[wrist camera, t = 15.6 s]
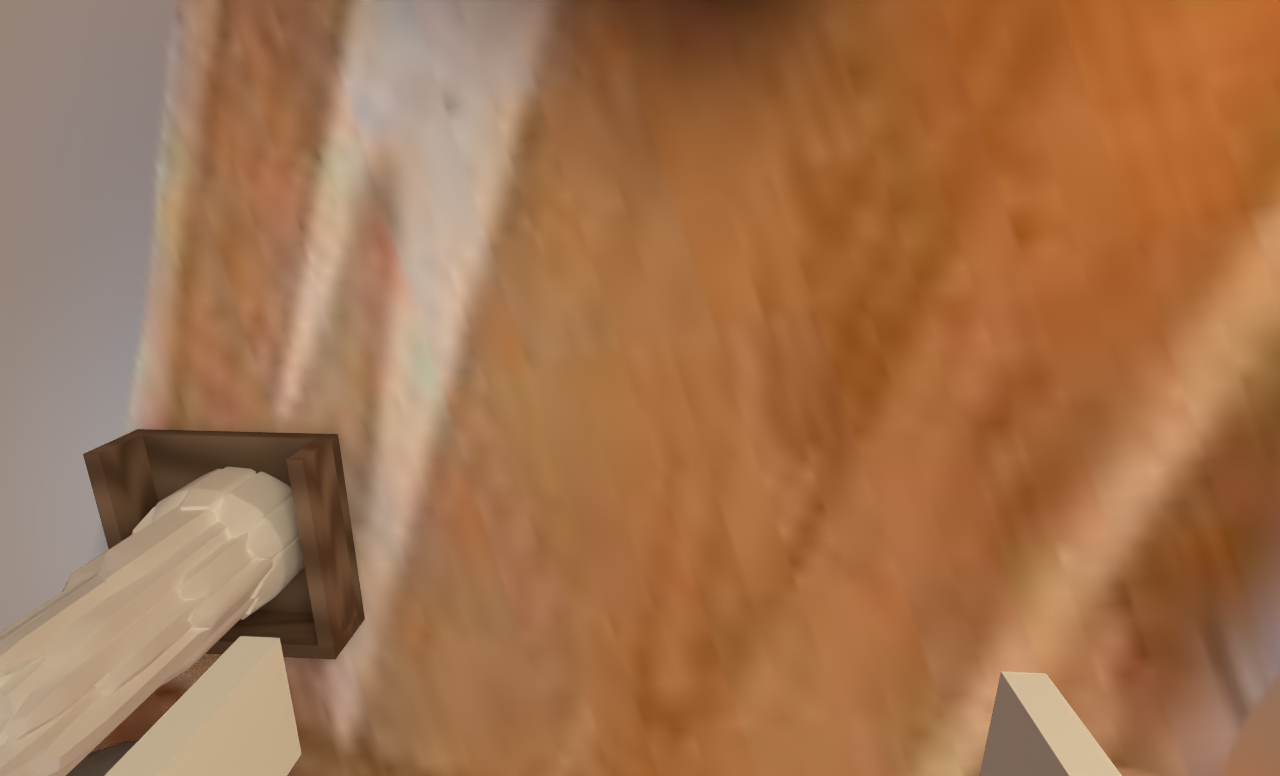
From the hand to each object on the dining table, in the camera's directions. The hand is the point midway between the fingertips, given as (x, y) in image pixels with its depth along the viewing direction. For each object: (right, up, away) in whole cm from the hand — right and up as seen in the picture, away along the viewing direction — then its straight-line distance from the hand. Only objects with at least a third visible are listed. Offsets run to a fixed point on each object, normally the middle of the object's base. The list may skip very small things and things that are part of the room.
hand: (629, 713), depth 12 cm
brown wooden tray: (-32, -6, +42) cm, 53 cm away
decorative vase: (-31, -5, +41) cm, 52 cm away
